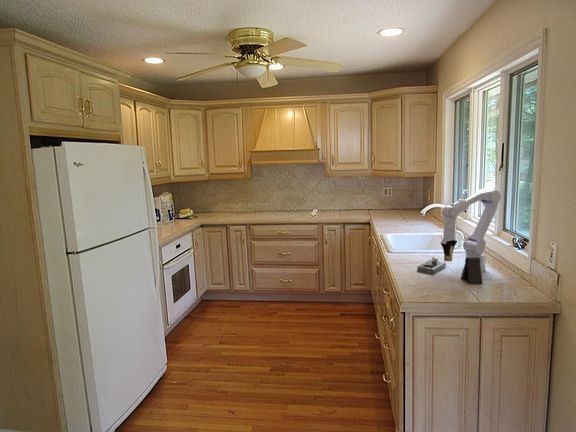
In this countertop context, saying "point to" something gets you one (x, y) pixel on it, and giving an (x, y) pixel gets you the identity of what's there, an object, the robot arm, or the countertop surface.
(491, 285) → the countertop surface
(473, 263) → the phone stand
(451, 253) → the cylinder
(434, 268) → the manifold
